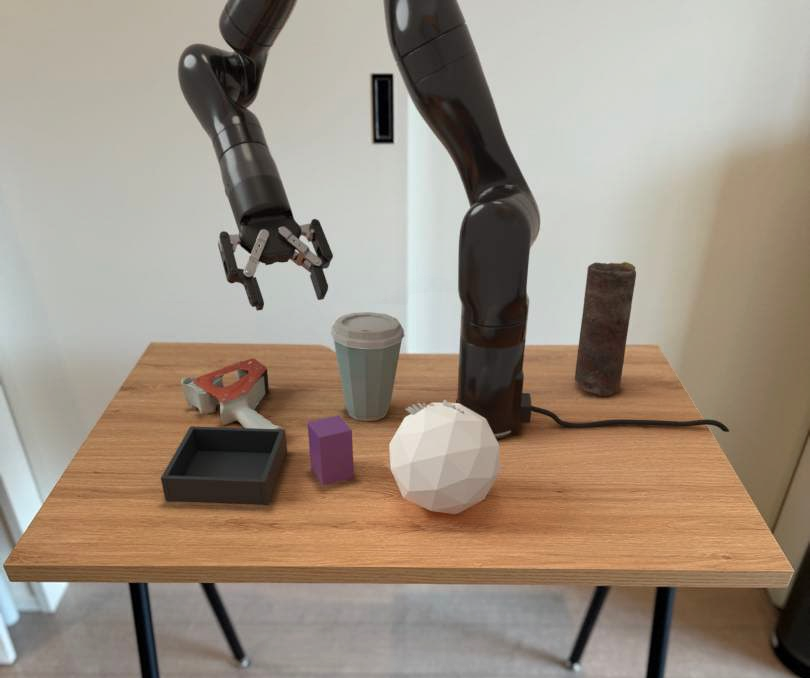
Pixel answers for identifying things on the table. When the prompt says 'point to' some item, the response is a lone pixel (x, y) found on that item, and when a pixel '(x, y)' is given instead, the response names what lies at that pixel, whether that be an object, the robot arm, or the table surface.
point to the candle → (604, 327)
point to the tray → (225, 466)
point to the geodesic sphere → (444, 457)
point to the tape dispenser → (232, 394)
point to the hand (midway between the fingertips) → (292, 302)
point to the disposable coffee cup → (367, 361)
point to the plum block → (331, 449)
